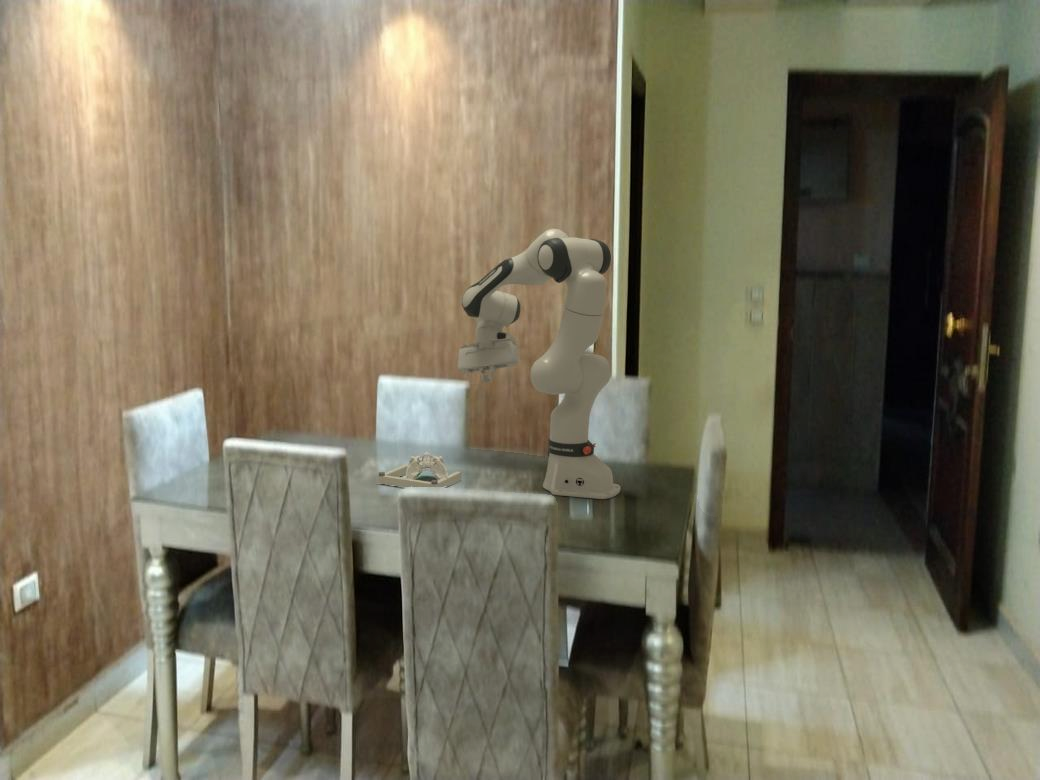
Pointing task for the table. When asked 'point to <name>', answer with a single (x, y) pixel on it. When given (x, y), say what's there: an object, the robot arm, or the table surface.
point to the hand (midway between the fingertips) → (486, 381)
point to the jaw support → (426, 466)
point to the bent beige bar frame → (394, 479)
